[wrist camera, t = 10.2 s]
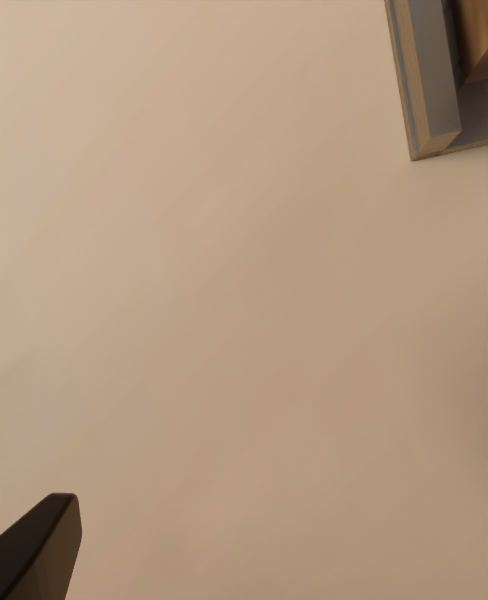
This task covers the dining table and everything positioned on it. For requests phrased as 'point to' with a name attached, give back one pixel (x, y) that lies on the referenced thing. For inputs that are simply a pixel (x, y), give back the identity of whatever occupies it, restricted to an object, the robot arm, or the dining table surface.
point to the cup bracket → (434, 80)
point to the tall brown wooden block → (471, 38)
